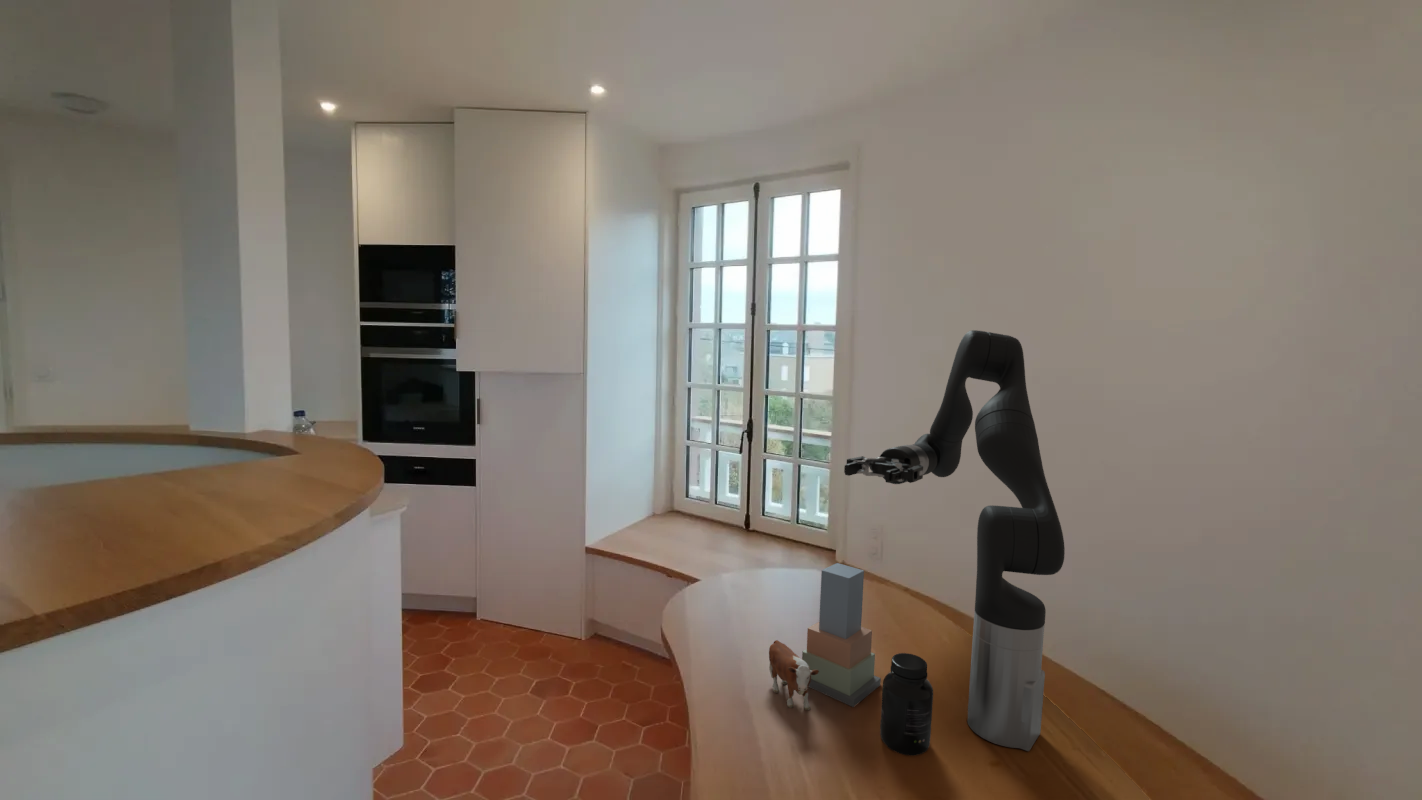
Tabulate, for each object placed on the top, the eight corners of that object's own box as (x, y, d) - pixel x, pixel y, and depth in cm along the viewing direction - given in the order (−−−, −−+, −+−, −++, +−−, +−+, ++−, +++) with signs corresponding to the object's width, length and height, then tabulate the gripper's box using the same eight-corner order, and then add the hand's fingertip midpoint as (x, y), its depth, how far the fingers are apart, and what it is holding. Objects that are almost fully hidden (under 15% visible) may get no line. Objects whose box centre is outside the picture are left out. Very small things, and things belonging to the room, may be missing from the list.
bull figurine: (795, 727, 90) (797, 673, 90) (763, 679, 103) (765, 632, 103) (822, 723, 91) (825, 670, 91) (787, 676, 104) (789, 629, 104)
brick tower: (880, 685, 102) (883, 631, 102) (853, 707, 96) (856, 650, 95) (823, 661, 110) (825, 611, 109) (794, 680, 103) (796, 627, 102)
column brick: (861, 629, 102) (864, 570, 101) (845, 639, 99) (848, 578, 98) (834, 619, 106) (837, 562, 105) (818, 629, 102) (821, 570, 101)
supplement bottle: (870, 731, 90) (874, 651, 89) (910, 724, 92) (915, 646, 91) (897, 761, 83) (902, 676, 82) (940, 753, 85) (945, 669, 84)
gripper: (873, 441, 134) (834, 449, 122) (938, 450, 125) (903, 459, 113) (871, 475, 135) (832, 486, 123) (936, 487, 125) (900, 499, 113)
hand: (866, 473), depth 118 cm, fingers open, 8 cm apart
